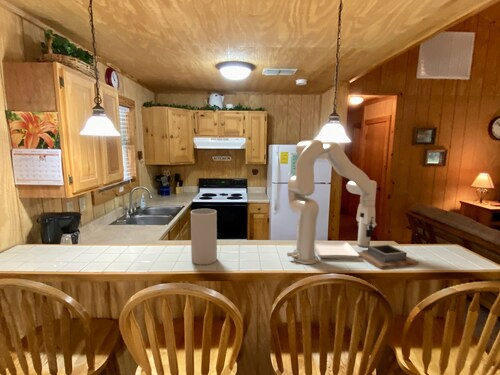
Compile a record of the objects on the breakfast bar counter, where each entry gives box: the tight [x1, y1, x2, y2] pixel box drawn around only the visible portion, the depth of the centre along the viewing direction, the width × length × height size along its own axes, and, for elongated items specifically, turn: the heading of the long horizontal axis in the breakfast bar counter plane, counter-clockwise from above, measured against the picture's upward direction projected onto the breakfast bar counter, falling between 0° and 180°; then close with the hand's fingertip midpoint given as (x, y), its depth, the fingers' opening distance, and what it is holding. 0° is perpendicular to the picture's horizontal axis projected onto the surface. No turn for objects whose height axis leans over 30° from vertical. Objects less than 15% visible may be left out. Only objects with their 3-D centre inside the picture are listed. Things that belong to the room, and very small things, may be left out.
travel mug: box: [357, 213, 371, 249], centre depth 150 cm, size 6×7×20 cm
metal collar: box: [367, 244, 407, 263], centre depth 139 cm, size 12×12×4 cm
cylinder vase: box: [190, 208, 218, 265], centre depth 135 cm, size 12×12×25 cm
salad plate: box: [315, 240, 360, 260], centre depth 148 cm, size 21×21×3 cm
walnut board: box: [356, 250, 419, 270], centre depth 139 cm, size 22×18×2 cm
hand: (364, 234), depth 151 cm, fingers closed on travel mug, 6 cm apart
